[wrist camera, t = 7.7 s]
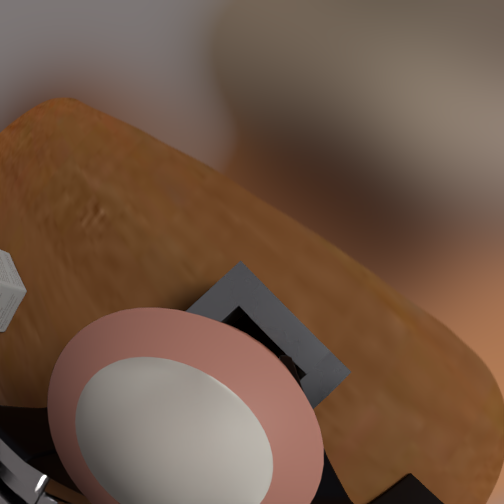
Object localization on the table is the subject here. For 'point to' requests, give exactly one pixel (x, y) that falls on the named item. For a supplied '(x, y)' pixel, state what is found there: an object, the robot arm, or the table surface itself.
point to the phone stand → (408, 493)
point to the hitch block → (273, 328)
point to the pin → (181, 414)
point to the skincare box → (9, 290)
